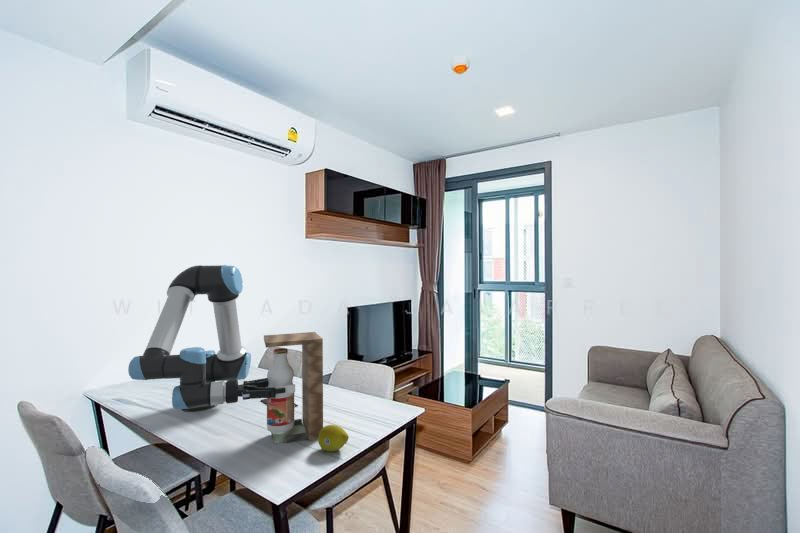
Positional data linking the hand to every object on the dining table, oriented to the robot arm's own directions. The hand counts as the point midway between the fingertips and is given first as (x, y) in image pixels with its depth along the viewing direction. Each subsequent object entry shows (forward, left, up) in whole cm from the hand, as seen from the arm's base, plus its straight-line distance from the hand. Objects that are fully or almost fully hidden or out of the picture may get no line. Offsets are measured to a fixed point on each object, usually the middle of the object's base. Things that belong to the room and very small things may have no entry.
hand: (293, 384), depth 136 cm
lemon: (+15, -15, -18) cm, 28 cm away
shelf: (-1, 0, -18) cm, 18 cm away
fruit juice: (-4, -1, -15) cm, 16 cm away
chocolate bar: (-11, +33, -19) cm, 39 cm away
